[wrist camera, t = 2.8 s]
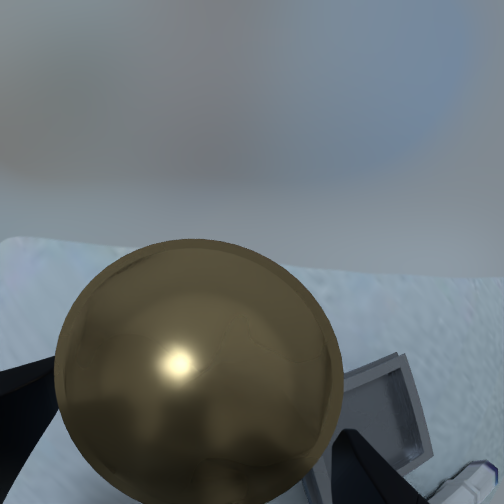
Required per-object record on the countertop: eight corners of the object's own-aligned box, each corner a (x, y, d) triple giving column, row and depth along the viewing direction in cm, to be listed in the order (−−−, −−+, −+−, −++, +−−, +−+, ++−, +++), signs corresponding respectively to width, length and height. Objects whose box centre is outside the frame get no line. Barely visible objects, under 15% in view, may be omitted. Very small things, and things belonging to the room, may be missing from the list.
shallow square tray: (310, 509, 12) (322, 520, 10) (276, 395, 16) (285, 393, 14) (418, 455, 13) (437, 456, 12) (389, 355, 17) (406, 347, 16)
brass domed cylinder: (180, 441, 13) (88, 519, 2) (162, 366, 16) (53, 261, 5) (260, 426, 14) (374, 464, 3) (240, 351, 17) (292, 221, 6)
